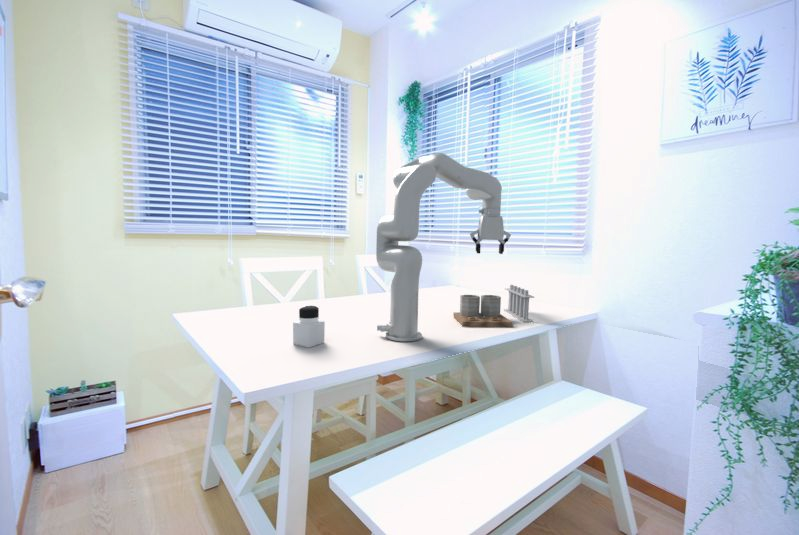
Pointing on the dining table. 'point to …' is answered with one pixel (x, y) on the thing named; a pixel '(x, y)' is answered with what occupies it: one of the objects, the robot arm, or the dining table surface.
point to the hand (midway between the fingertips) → (489, 253)
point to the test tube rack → (518, 303)
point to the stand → (488, 312)
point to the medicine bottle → (308, 327)
